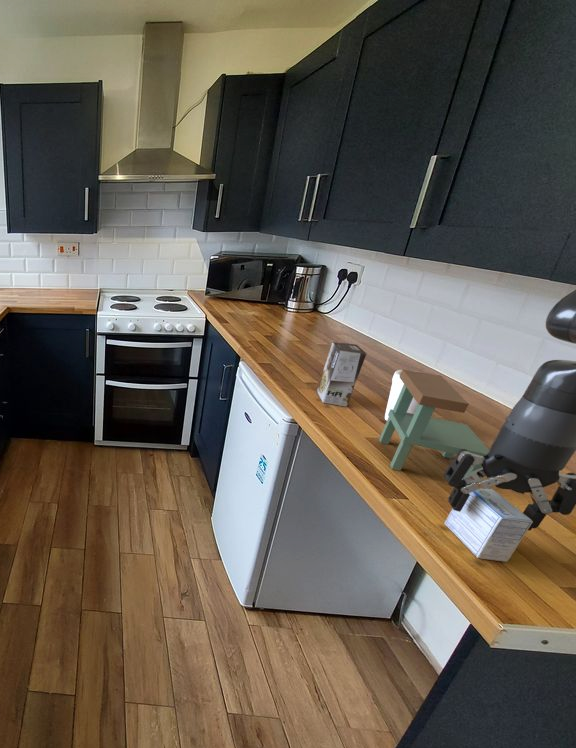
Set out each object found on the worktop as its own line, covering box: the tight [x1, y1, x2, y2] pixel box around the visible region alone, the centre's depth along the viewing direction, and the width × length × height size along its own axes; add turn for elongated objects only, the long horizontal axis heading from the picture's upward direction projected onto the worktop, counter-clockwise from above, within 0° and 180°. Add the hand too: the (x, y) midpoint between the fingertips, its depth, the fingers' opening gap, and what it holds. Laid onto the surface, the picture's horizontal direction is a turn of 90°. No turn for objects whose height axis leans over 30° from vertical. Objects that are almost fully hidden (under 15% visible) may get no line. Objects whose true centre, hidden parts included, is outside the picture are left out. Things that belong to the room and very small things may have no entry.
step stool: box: [378, 369, 490, 477], centre depth 86 cm, size 14×16×18 cm
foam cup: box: [384, 369, 419, 422], centre depth 104 cm, size 10×9×13 cm
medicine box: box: [444, 488, 533, 563], centre depth 66 cm, size 8×4×9 cm, turn 170°
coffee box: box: [316, 341, 367, 408], centre depth 115 cm, size 9×6×16 cm
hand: (488, 517), depth 65 cm, fingers open, 8 cm apart
